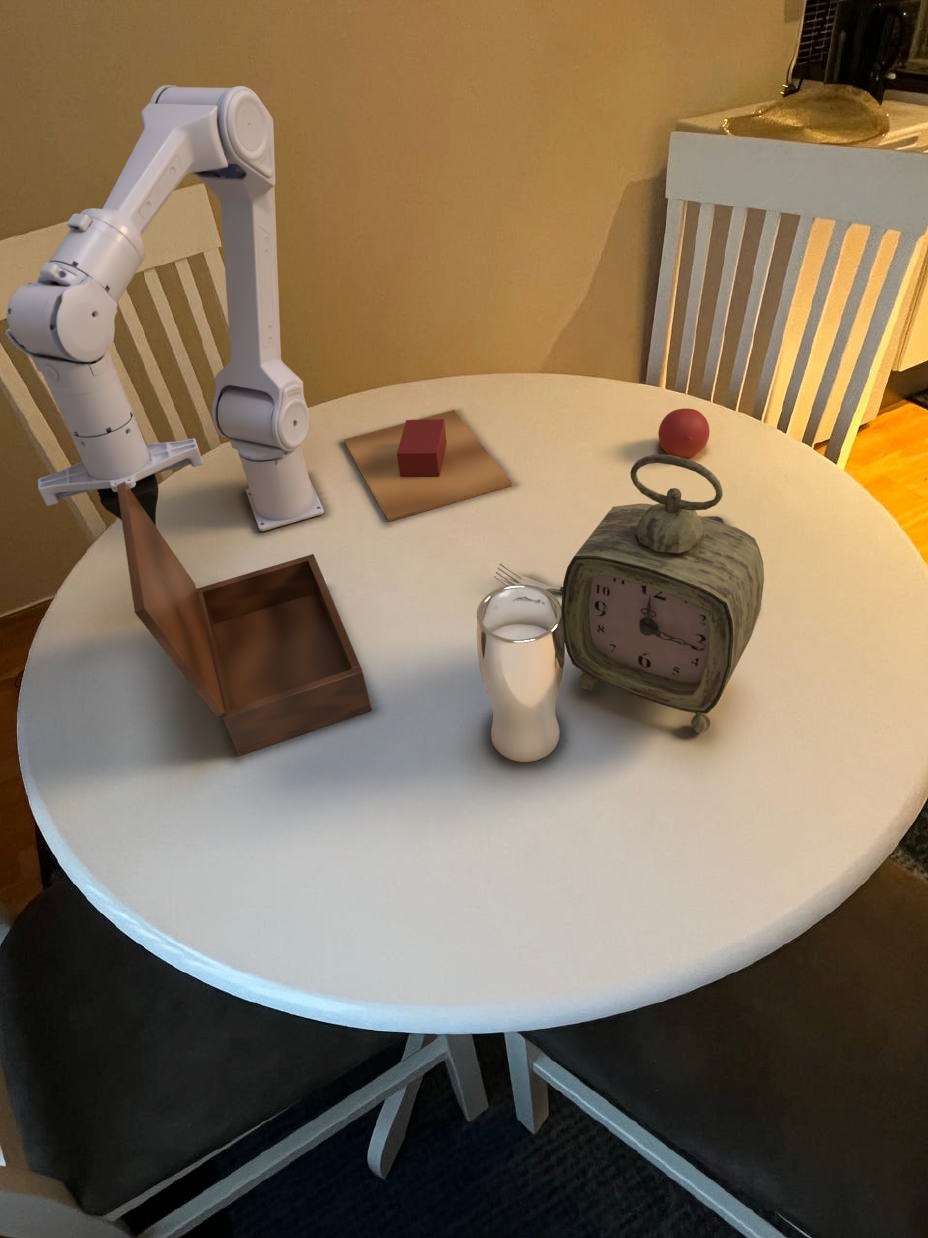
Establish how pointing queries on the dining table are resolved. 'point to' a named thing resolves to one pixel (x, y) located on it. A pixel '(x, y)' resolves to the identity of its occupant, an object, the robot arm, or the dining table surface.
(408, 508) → the wooden board
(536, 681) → the beer glass
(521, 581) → the fork
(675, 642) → the tabletop clock
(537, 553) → the dining table surface
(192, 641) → the lid
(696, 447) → the fruit
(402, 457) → the dark-red plain block
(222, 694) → the chest
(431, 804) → the dining table surface
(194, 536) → the dining table surface
